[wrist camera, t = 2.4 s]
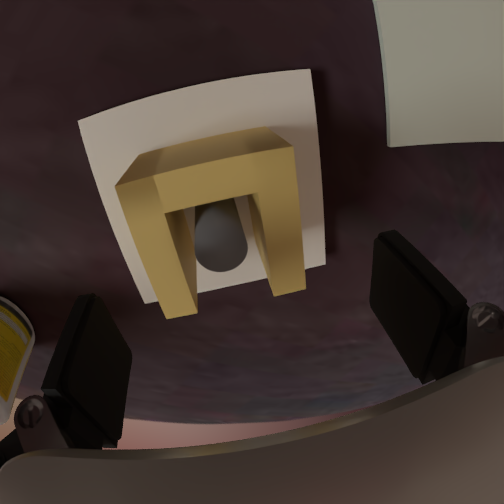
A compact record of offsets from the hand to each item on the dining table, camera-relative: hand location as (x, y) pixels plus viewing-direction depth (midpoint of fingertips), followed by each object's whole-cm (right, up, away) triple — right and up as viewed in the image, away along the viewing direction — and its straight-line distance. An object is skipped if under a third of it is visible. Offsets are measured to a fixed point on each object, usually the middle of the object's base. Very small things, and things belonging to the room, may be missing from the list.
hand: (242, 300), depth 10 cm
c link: (-2, +4, +6) cm, 8 cm away
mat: (+14, +15, +4) cm, 22 cm away
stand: (-2, +5, +7) cm, 9 cm away
